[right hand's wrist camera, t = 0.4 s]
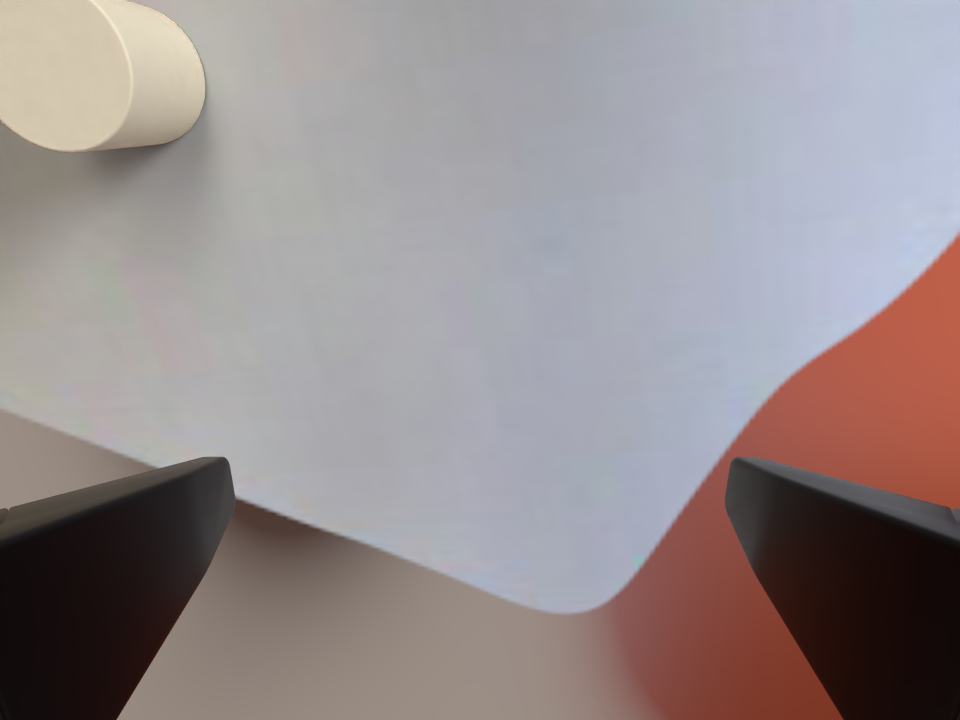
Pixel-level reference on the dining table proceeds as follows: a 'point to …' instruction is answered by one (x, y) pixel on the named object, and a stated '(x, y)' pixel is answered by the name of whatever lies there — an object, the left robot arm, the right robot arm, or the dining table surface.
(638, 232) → the dining table surface
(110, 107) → the canister
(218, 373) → the dining table surface
